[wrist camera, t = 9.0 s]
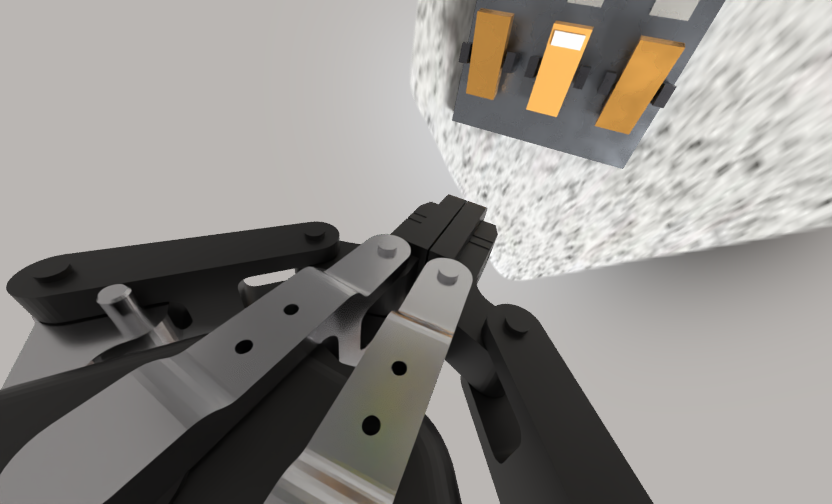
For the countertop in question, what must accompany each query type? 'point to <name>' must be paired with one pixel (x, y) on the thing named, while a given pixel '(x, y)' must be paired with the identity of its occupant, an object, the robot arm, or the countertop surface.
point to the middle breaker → (558, 66)
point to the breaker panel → (579, 70)
